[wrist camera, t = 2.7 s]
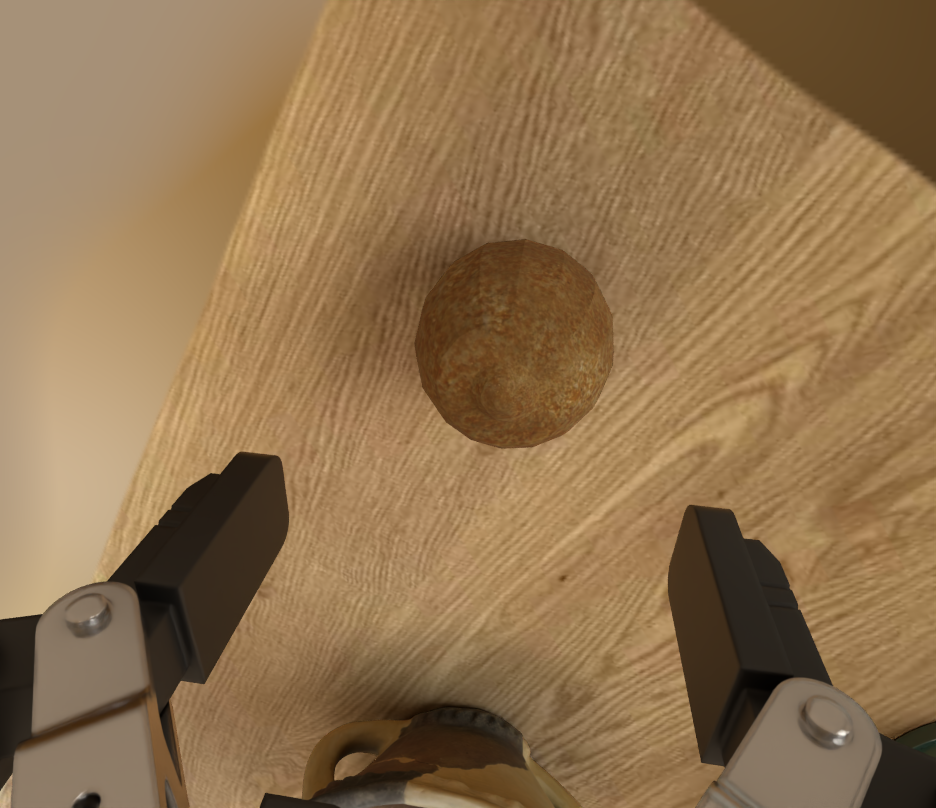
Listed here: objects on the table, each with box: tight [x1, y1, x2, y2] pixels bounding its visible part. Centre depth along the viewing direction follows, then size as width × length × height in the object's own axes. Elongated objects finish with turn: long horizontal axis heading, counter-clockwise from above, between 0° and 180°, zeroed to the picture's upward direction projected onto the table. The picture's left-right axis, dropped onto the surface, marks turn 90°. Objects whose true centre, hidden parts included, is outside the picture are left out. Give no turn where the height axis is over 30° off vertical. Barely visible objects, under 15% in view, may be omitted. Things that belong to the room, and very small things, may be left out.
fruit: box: [415, 239, 614, 448], centre depth 19 cm, size 6×6×8 cm
